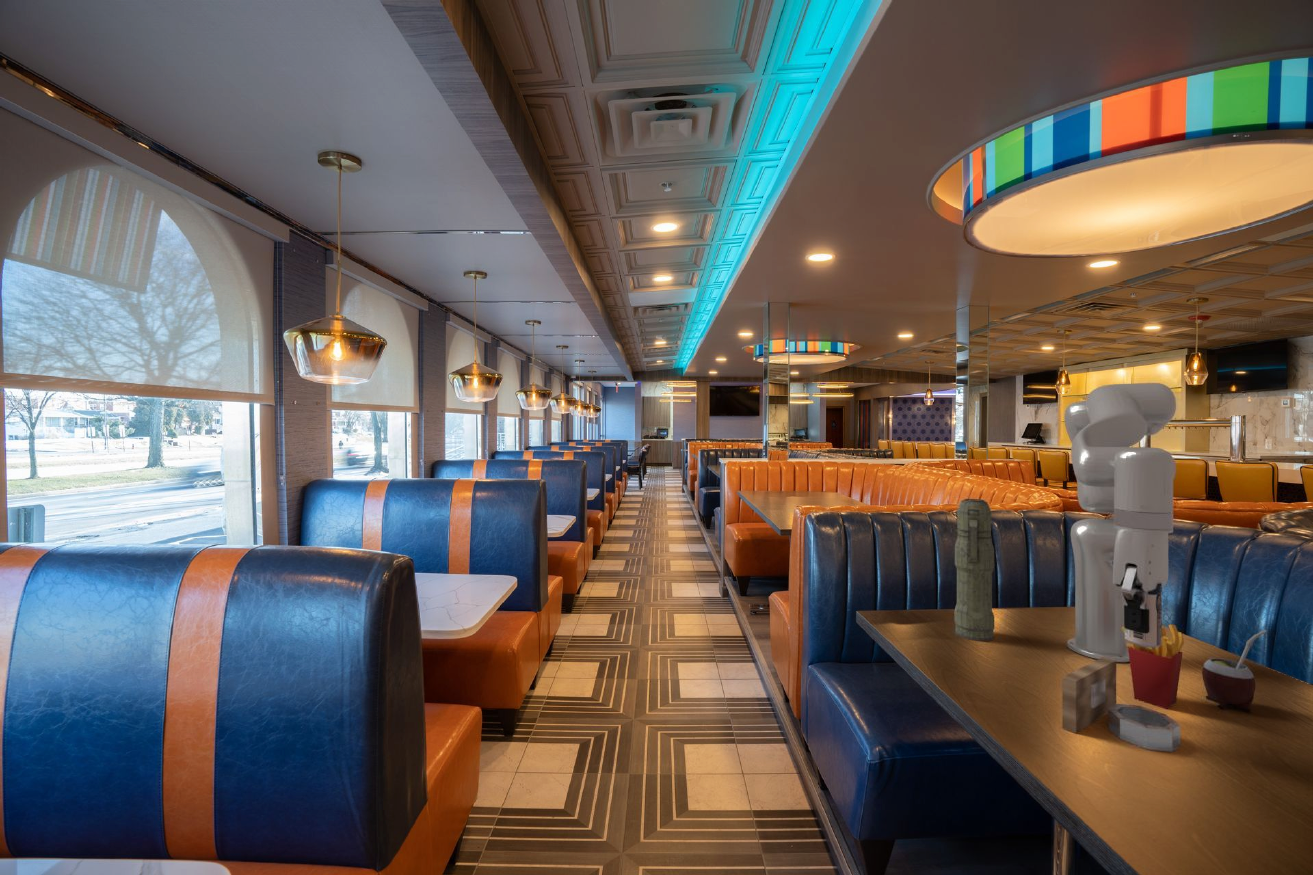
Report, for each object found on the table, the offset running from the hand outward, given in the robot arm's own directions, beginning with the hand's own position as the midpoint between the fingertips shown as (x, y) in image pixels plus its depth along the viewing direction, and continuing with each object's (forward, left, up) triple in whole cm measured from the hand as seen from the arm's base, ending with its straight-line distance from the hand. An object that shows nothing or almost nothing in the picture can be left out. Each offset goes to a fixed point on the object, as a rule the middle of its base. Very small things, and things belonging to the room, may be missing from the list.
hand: (1142, 626), depth 93 cm
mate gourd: (-29, +4, -19) cm, 35 cm away
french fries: (-20, -5, -19) cm, 28 cm away
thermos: (-25, -42, -19) cm, 52 cm away
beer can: (0, 0, -3) cm, 3 cm away
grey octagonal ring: (0, 0, -19) cm, 19 cm away
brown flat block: (0, -8, -19) cm, 20 cm away
